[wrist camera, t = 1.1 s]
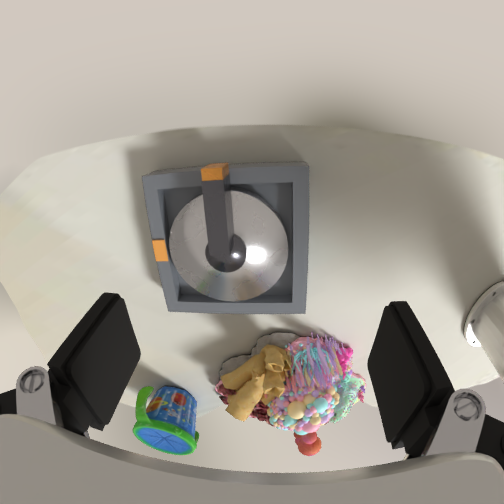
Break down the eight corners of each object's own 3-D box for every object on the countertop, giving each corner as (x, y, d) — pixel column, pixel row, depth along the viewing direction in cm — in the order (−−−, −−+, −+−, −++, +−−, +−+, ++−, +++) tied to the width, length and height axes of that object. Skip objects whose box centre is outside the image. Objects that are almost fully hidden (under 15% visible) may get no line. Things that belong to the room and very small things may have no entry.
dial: (287, 292, 32) (288, 319, 27) (183, 292, 33) (171, 317, 28) (286, 158, 26) (288, 164, 21) (164, 166, 27) (143, 175, 22)
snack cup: (219, 419, 47) (210, 463, 38) (172, 418, 49) (159, 458, 40) (184, 367, 41) (167, 419, 32) (133, 369, 43) (111, 413, 34)
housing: (305, 161, 27) (309, 166, 24) (303, 297, 34) (305, 314, 31) (154, 171, 29) (140, 176, 26) (176, 296, 36) (167, 312, 32)
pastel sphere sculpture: (197, 394, 45) (185, 436, 36) (263, 303, 35) (259, 356, 27) (313, 431, 48) (315, 469, 40) (399, 362, 38) (415, 407, 30)
